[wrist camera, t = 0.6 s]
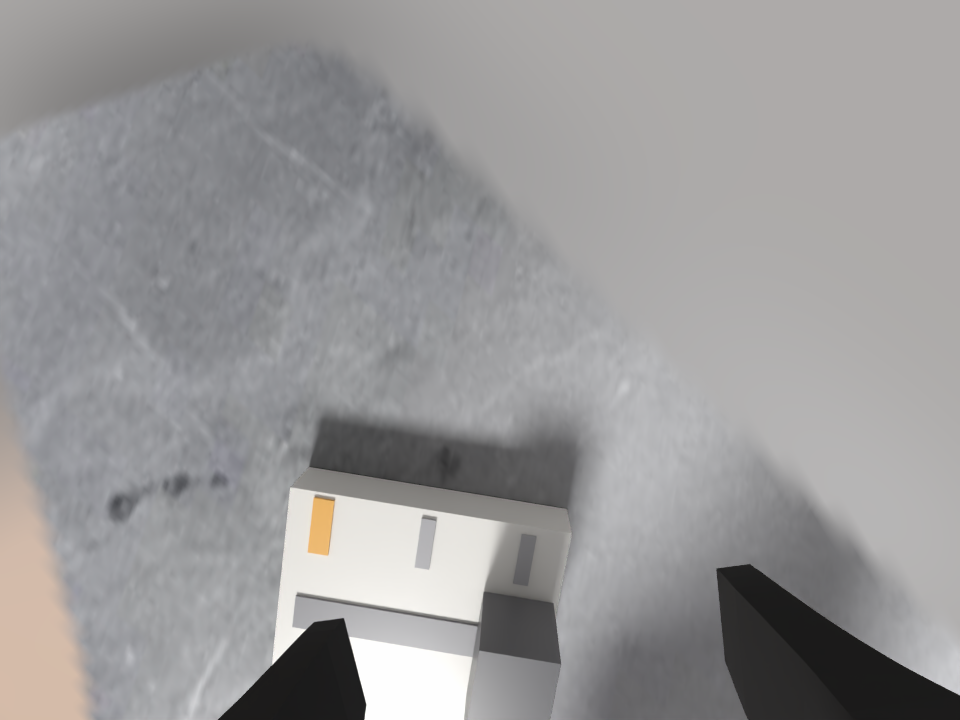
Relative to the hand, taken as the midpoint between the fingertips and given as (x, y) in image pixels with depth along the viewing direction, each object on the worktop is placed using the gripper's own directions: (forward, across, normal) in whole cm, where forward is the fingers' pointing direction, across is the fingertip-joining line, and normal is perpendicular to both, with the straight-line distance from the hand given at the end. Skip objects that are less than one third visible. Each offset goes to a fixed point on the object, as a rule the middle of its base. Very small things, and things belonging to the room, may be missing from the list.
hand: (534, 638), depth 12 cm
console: (+11, +5, +6) cm, 13 cm away
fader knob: (+8, +1, +7) cm, 11 cm away
